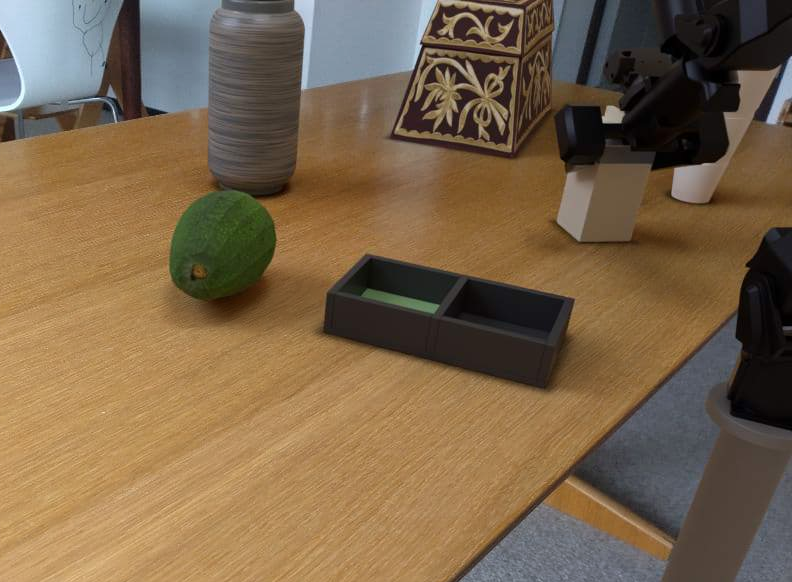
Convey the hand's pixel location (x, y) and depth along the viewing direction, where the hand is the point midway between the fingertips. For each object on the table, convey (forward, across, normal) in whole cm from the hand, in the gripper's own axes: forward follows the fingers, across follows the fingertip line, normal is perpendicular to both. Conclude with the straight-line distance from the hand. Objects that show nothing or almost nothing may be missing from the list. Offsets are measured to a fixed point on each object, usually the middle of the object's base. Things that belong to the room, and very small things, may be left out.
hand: (602, 169), depth 104 cm
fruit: (-6, +47, +17) cm, 51 cm away
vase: (+17, +40, -6) cm, 44 cm away
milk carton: (+4, 0, +6) cm, 7 cm away
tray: (-14, +27, +24) cm, 39 cm away
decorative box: (+40, -3, -29) cm, 49 cm away
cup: (+13, -20, -2) cm, 24 cm away
